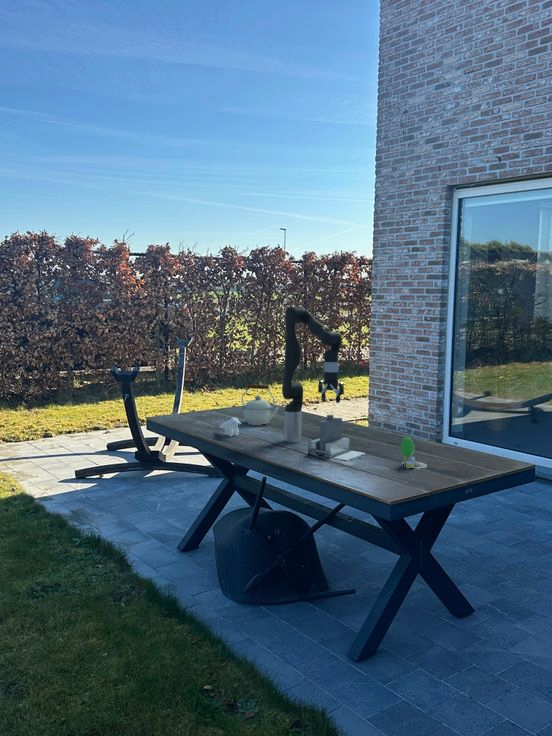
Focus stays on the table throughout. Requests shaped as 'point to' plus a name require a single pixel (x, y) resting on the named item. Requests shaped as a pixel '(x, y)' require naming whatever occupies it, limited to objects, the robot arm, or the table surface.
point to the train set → (408, 450)
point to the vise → (329, 447)
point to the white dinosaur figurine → (231, 427)
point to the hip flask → (330, 431)
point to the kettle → (258, 408)
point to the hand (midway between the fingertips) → (330, 401)
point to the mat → (349, 455)
